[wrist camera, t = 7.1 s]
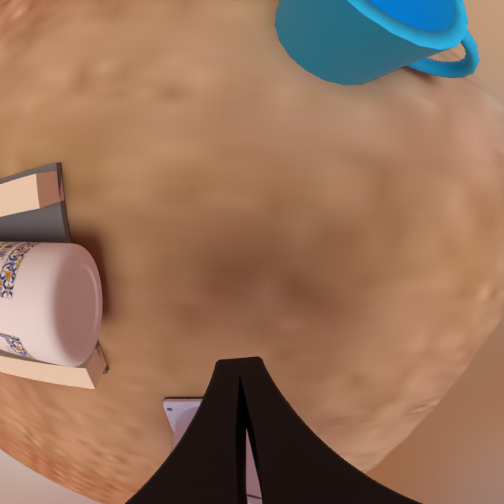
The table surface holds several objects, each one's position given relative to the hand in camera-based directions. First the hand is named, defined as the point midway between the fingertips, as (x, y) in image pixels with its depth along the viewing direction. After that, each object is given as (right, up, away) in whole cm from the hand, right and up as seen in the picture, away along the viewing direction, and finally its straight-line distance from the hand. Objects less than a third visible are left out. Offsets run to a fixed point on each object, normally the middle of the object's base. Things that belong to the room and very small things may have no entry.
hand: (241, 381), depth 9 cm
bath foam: (-9, +1, +5) cm, 10 cm away
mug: (+8, +18, +6) cm, 20 cm away
